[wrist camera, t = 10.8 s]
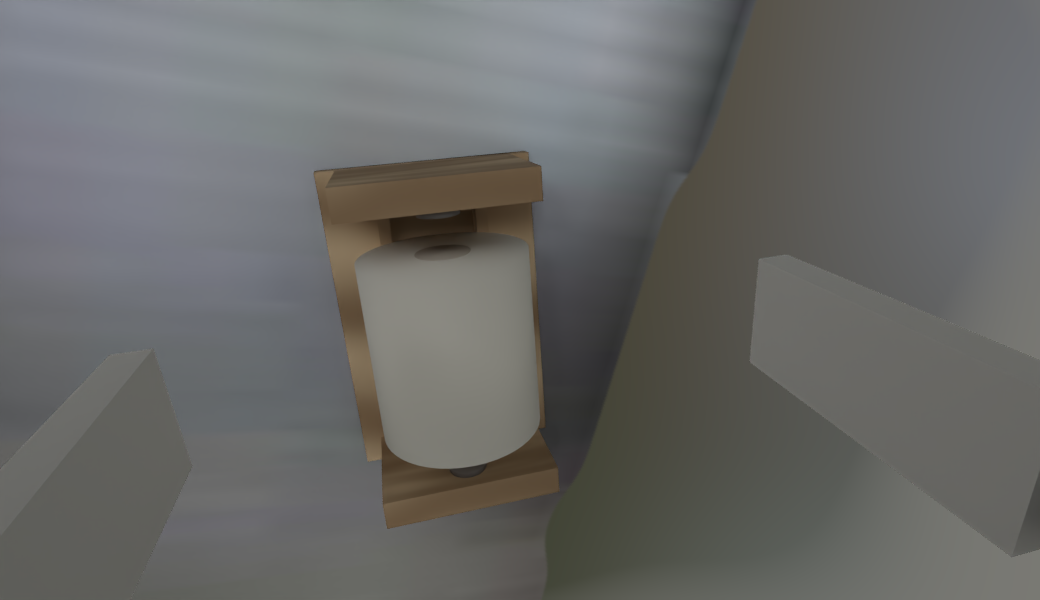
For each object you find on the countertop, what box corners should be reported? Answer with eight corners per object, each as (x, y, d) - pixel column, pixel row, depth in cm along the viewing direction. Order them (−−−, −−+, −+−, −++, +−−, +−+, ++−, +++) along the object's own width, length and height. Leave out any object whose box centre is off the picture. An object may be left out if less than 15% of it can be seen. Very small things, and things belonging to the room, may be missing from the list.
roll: (357, 242, 30) (349, 289, 22) (509, 224, 31) (548, 263, 24) (384, 398, 33) (384, 484, 26) (521, 375, 34) (559, 450, 27)
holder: (315, 170, 29) (298, 190, 23) (524, 150, 32) (563, 163, 25) (368, 454, 35) (366, 533, 29) (542, 421, 37) (577, 487, 31)
